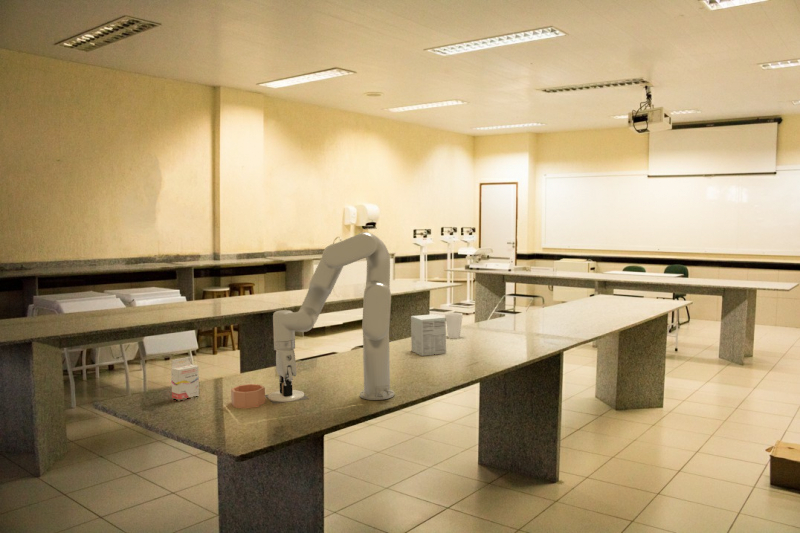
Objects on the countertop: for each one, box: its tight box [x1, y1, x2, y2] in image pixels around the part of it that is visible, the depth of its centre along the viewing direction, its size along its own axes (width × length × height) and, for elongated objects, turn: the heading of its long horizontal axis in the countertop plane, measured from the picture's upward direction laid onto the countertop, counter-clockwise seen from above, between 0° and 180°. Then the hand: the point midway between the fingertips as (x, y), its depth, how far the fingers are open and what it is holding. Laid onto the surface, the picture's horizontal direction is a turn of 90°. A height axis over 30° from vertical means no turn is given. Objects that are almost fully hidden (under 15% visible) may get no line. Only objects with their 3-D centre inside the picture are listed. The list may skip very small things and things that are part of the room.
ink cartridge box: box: [170, 356, 200, 399], centre depth 229 cm, size 9×5×15 cm, turn 141°
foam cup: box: [444, 312, 463, 340], centre depth 339 cm, size 10×9×13 cm
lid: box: [267, 382, 305, 403], centre depth 226 cm, size 13×13×5 cm
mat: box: [265, 394, 310, 405], centre depth 226 cm, size 13×13×1 cm
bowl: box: [230, 383, 266, 409], centre depth 219 cm, size 11×11×6 cm
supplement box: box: [410, 313, 447, 356], centre depth 301 cm, size 13×13×18 cm
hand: (286, 393), depth 226 cm, fingers open, 3 cm apart
